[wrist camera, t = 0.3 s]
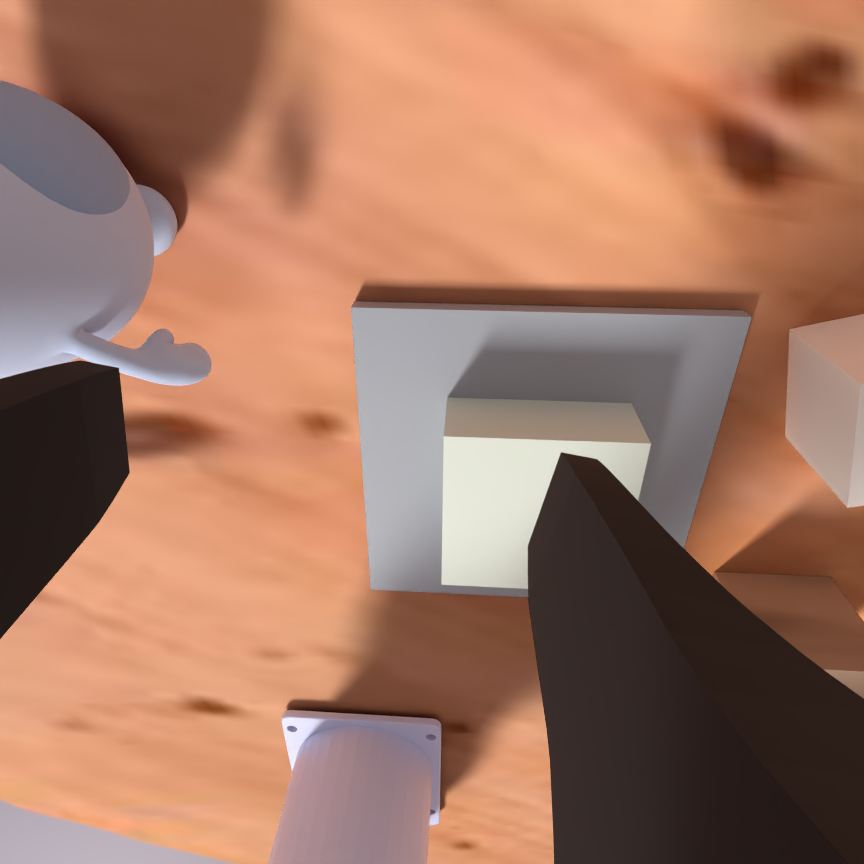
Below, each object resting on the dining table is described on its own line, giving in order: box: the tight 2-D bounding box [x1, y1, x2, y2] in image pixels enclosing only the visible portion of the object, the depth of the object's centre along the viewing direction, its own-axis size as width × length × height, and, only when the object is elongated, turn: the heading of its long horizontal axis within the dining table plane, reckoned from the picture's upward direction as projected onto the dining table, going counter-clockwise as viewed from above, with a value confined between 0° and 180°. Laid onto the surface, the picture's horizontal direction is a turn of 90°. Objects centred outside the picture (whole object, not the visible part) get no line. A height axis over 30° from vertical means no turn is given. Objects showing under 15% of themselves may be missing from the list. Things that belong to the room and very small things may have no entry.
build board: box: [351, 301, 752, 597], centre depth 21 cm, size 12×12×1 cm
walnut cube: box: [713, 572, 864, 698], centre depth 22 cm, size 4×4×4 cm
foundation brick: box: [441, 397, 651, 589], centre depth 20 cm, size 6×6×2 cm
